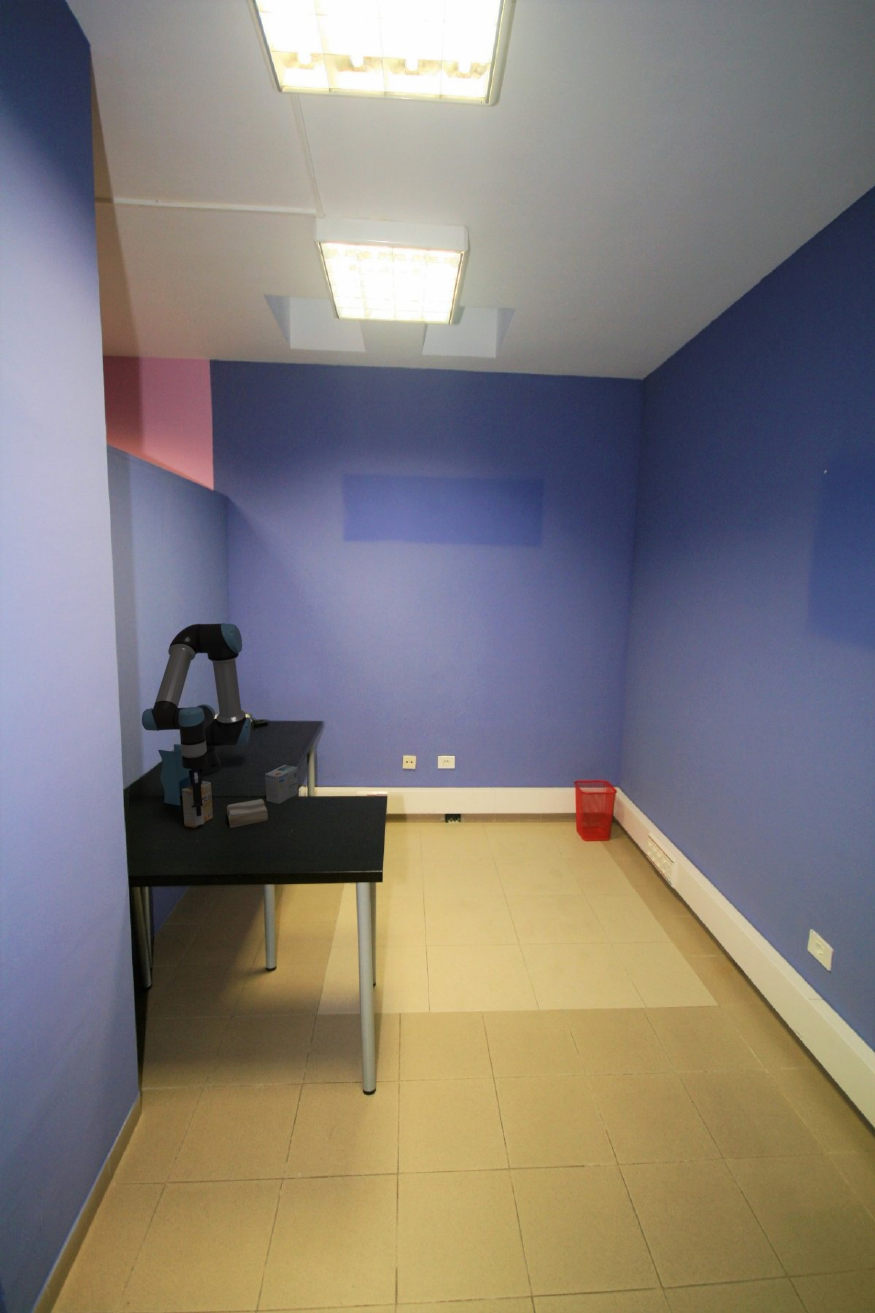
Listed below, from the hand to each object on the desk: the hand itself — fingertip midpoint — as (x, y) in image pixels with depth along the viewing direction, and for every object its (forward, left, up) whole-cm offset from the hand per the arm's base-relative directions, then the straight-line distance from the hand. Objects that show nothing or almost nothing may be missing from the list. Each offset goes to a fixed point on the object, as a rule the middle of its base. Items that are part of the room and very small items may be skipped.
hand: (199, 818), depth 176 cm
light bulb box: (-8, +29, -2) cm, 30 cm away
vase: (-23, -6, -2) cm, 24 cm away
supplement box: (0, 0, -2) cm, 2 cm away
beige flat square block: (+4, +15, -1) cm, 16 cm away
